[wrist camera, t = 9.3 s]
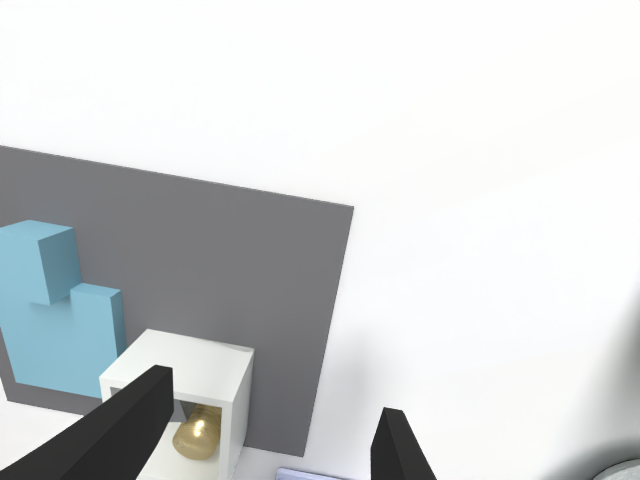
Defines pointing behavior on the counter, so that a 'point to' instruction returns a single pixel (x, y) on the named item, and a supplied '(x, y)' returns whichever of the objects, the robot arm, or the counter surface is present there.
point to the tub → (191, 397)
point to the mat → (195, 273)
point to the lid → (55, 311)
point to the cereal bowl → (621, 471)
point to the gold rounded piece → (199, 433)
